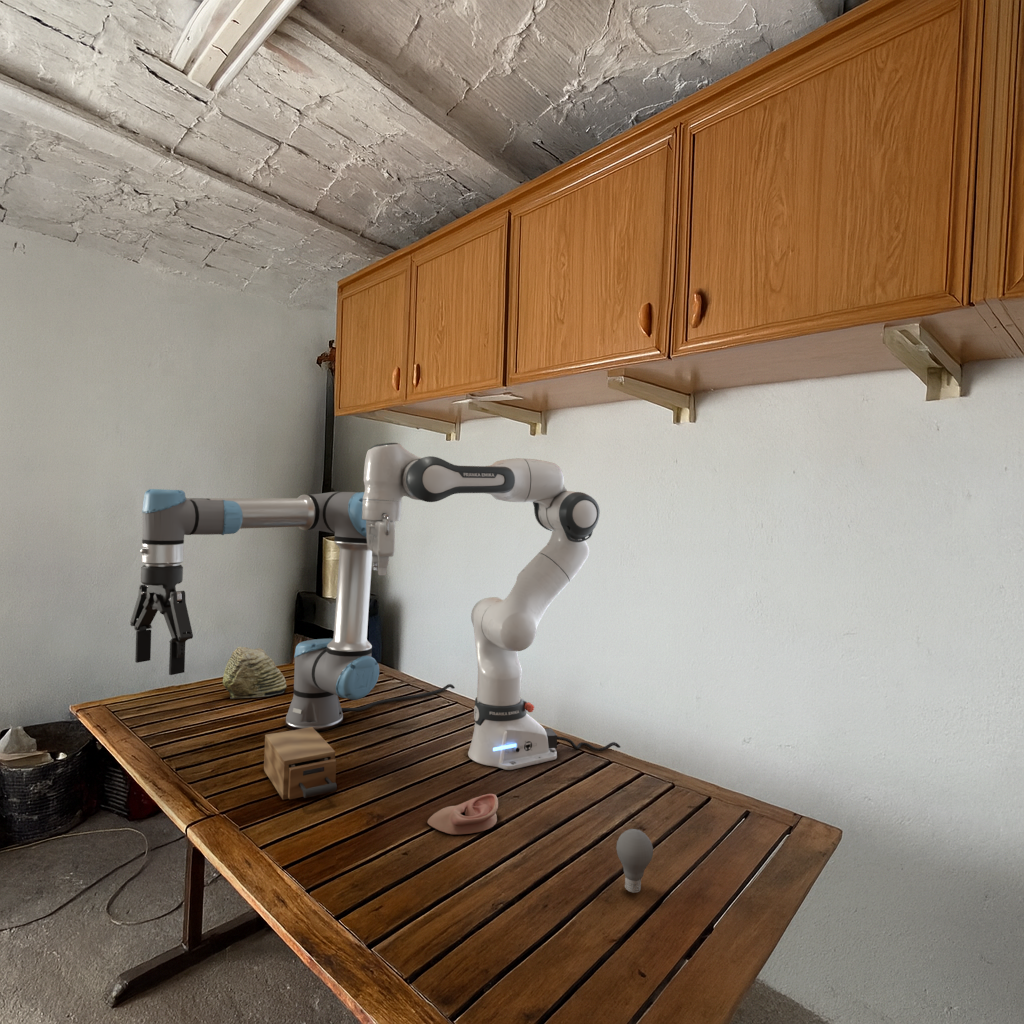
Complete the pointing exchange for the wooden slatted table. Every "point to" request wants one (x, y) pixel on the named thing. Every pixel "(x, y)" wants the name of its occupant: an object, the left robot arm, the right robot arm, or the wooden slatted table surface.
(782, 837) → the wooden slatted table surface
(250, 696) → the fossil
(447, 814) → the anatomical model
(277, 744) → the cabinet
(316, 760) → the drawer
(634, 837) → the light bulb
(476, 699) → the right robot arm
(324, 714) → the left robot arm
